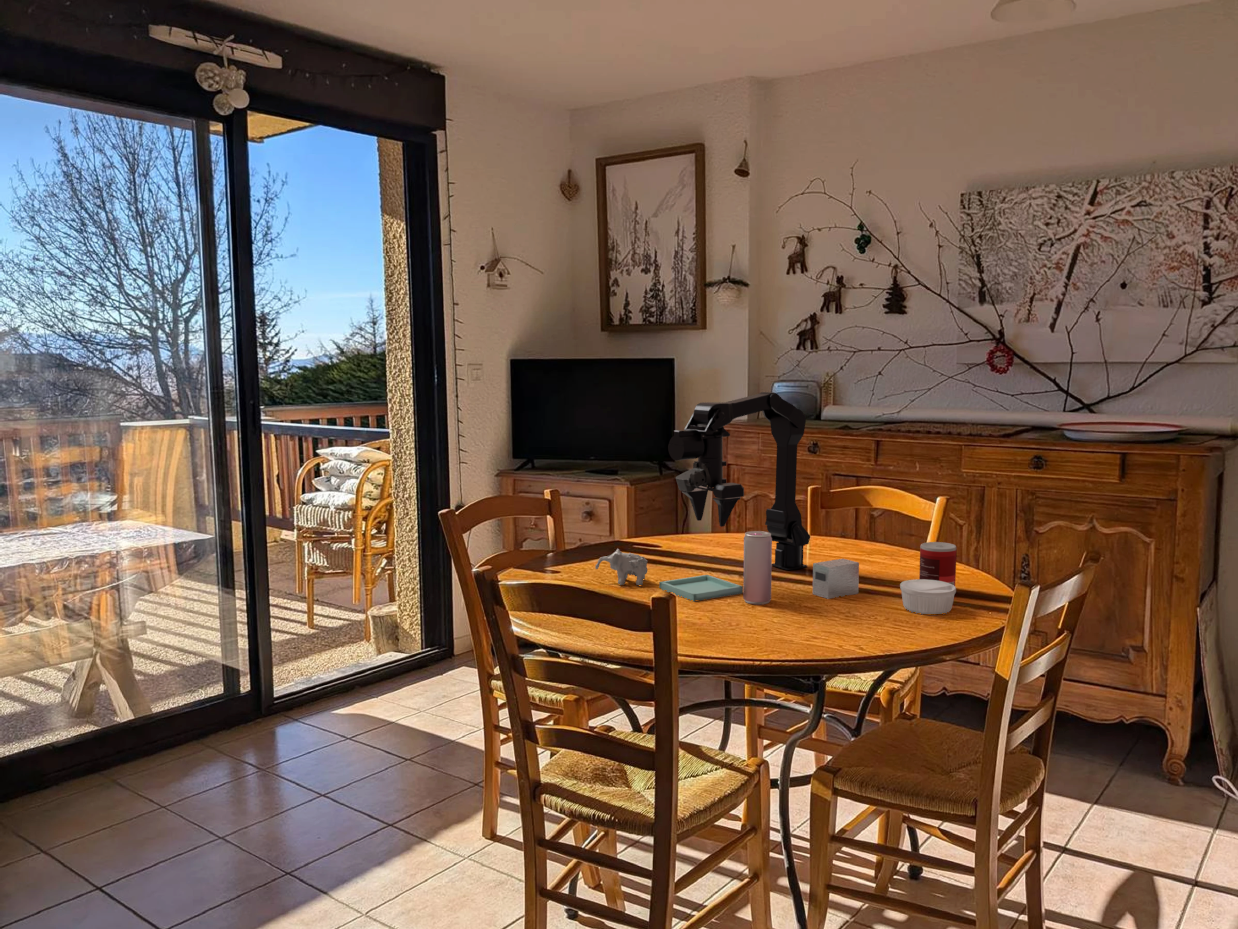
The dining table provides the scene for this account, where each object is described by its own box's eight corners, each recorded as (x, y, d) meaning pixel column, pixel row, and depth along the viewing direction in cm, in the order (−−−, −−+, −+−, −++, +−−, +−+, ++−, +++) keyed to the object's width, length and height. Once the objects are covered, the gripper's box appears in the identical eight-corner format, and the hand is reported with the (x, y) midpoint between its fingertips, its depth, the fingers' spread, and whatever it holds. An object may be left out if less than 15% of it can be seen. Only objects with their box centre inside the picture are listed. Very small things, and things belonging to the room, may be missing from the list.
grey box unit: (843, 588, 225) (844, 558, 225) (859, 593, 221) (860, 562, 220) (811, 594, 221) (812, 563, 220) (827, 599, 216) (828, 567, 215)
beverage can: (740, 598, 217) (741, 531, 215) (767, 597, 218) (768, 530, 216) (746, 605, 211) (747, 536, 210) (774, 604, 212) (774, 535, 210)
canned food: (955, 591, 223) (956, 542, 221) (954, 599, 215) (956, 550, 214) (919, 588, 225) (921, 540, 224) (918, 596, 218) (919, 547, 216)
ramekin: (947, 620, 200) (948, 594, 199) (892, 612, 206) (893, 587, 205) (961, 607, 209) (961, 583, 208) (908, 600, 215) (908, 576, 214)
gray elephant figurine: (651, 588, 229) (653, 555, 228) (600, 588, 226) (602, 555, 225) (641, 579, 238) (643, 547, 237) (592, 579, 235) (594, 547, 234)
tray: (707, 581, 233) (707, 574, 233) (742, 593, 222) (742, 586, 221) (659, 588, 226) (659, 581, 226) (693, 601, 215) (693, 594, 215)
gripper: (659, 455, 233) (659, 521, 235) (704, 463, 217) (705, 533, 219) (698, 452, 238) (698, 516, 240) (745, 459, 222) (745, 528, 224)
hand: (710, 523), depth 231 cm, fingers open, 9 cm apart
